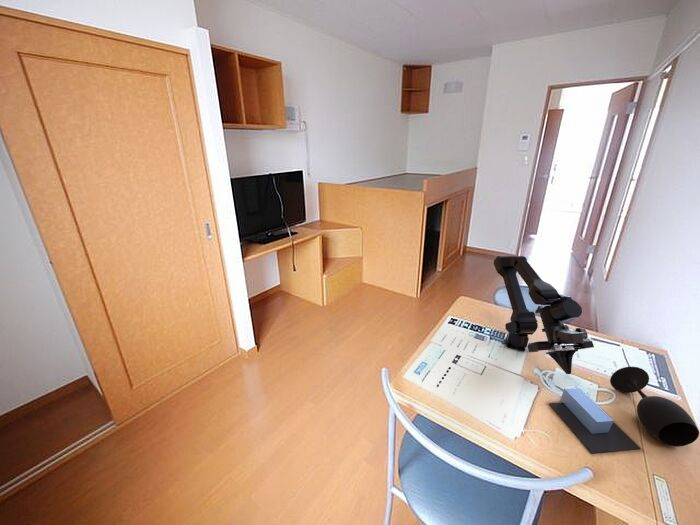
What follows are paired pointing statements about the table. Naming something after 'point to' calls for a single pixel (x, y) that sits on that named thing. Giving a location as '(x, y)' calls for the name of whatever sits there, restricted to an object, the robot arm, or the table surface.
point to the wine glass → (656, 409)
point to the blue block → (586, 410)
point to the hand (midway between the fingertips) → (568, 374)
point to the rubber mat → (597, 441)
